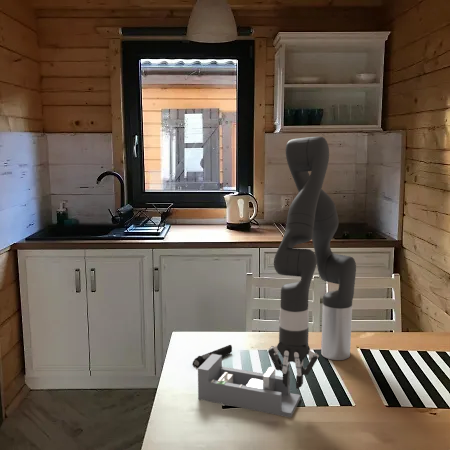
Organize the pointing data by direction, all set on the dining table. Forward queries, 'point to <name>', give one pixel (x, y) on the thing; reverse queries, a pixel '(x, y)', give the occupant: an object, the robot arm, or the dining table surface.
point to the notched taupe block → (264, 380)
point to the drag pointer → (226, 378)
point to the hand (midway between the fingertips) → (292, 386)
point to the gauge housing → (243, 389)
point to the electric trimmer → (203, 358)
